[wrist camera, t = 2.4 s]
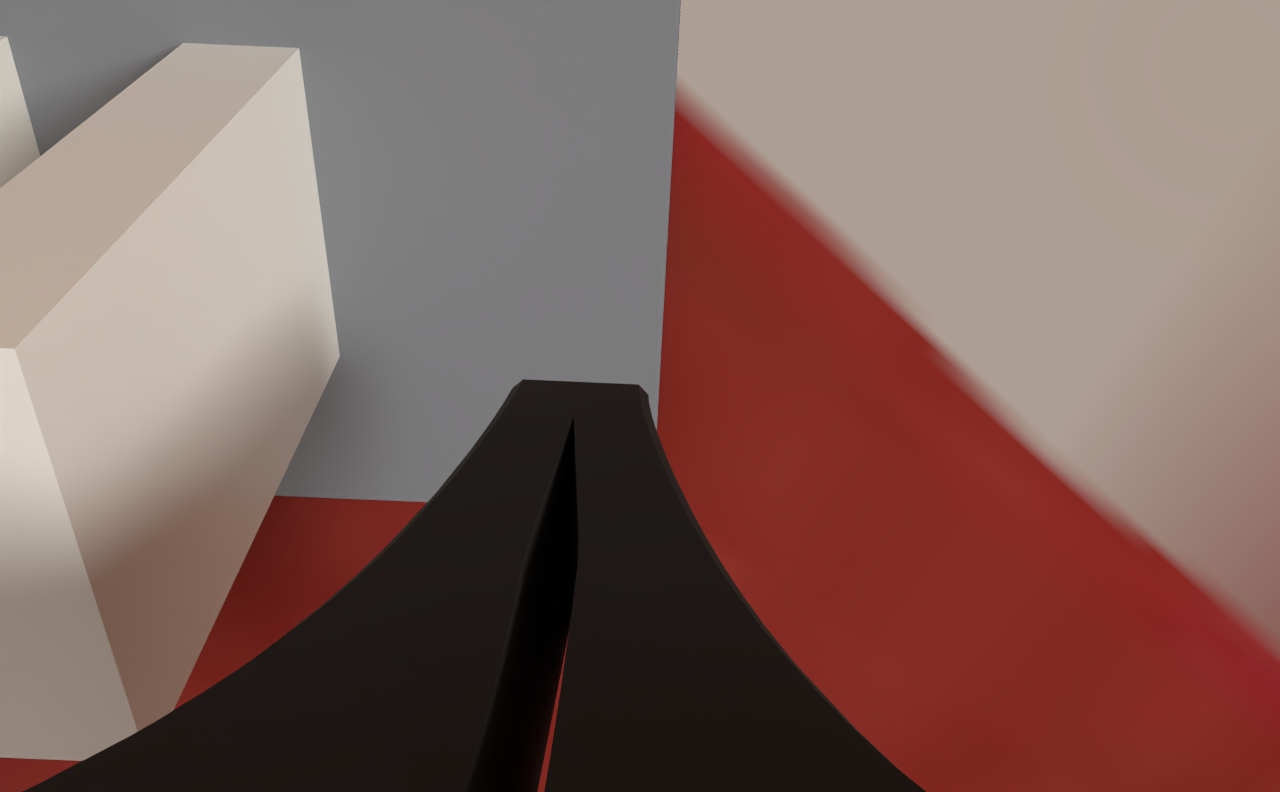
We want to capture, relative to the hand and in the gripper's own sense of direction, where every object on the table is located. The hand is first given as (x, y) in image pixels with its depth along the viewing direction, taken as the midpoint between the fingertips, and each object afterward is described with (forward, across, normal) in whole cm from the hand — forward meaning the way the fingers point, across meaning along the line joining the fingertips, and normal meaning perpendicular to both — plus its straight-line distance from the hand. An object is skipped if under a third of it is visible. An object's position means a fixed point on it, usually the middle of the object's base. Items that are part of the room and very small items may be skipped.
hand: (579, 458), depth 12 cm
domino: (+6, +5, 0) cm, 8 cm away
